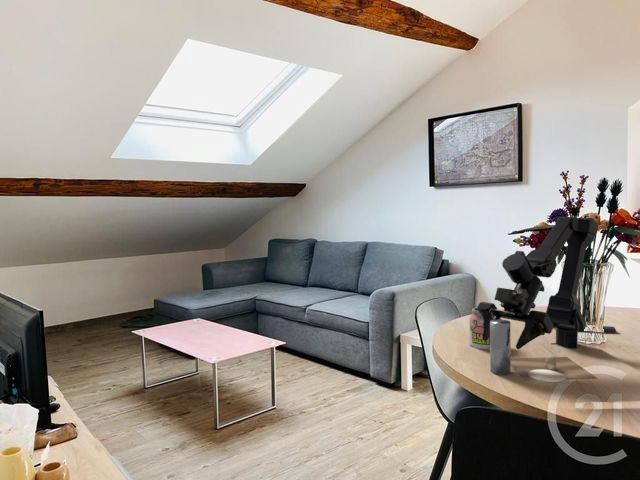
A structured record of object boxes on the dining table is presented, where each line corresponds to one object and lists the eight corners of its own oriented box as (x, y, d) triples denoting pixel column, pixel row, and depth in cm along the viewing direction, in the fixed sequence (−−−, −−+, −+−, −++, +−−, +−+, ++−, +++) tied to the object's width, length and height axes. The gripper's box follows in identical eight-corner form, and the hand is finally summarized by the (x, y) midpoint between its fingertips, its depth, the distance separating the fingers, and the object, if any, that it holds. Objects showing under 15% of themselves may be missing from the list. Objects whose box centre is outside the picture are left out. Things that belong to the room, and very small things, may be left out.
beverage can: (505, 347, 147) (505, 307, 146) (498, 355, 140) (498, 314, 139) (474, 343, 152) (474, 305, 151) (466, 351, 145) (465, 310, 144)
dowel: (544, 367, 126) (544, 355, 126) (553, 367, 126) (553, 355, 125) (548, 370, 123) (548, 358, 123) (557, 370, 123) (558, 358, 123)
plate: (503, 362, 134) (503, 358, 134) (566, 361, 133) (566, 356, 133) (528, 387, 116) (528, 382, 116) (601, 386, 116) (601, 380, 115)
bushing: (483, 372, 127) (483, 319, 126) (508, 371, 127) (508, 318, 126) (491, 381, 121) (491, 325, 120) (518, 380, 121) (517, 324, 119)
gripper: (480, 272, 133) (454, 319, 127) (547, 279, 118) (522, 333, 112) (497, 296, 138) (473, 343, 132) (564, 307, 123) (540, 359, 117)
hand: (500, 344), depth 123 cm, fingers open, 9 cm apart
